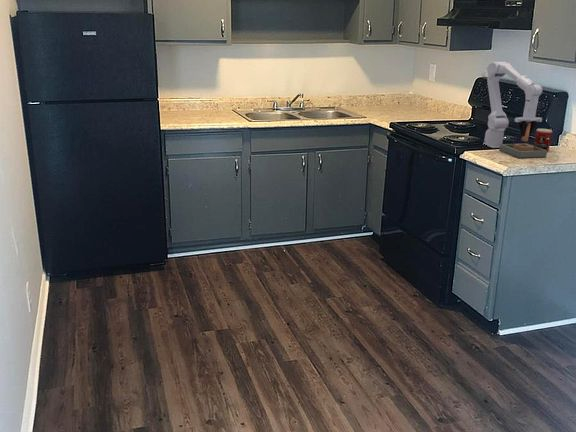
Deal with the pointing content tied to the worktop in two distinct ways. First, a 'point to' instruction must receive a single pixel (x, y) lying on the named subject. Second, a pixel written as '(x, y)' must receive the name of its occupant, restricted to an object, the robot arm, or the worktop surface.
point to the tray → (523, 151)
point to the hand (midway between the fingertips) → (525, 136)
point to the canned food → (543, 138)
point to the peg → (526, 133)
